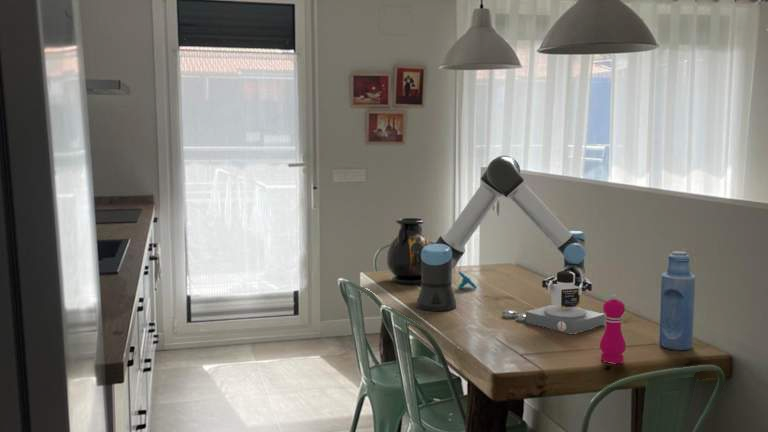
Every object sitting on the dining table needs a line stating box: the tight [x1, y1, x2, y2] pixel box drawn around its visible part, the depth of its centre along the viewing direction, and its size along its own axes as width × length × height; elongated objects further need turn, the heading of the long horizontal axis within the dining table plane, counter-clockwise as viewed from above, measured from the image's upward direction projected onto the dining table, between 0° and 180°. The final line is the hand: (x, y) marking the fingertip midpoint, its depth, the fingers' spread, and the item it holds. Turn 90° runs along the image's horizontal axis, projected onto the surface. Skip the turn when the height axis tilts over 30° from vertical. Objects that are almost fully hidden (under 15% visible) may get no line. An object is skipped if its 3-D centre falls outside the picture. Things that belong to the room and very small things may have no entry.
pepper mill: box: [599, 294, 627, 364], centre depth 206 cm, size 7×7×20 cm
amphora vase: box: [385, 217, 432, 286], centre depth 315 cm, size 22×22×28 cm
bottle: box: [658, 250, 696, 352], centre depth 219 cm, size 10×10×30 cm
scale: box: [525, 304, 606, 334], centre depth 246 cm, size 18×20×5 cm
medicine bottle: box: [550, 270, 581, 309], centre depth 245 cm, size 7×7×12 cm
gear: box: [458, 271, 478, 290], centre depth 302 cm, size 11×6×10 cm
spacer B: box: [516, 313, 526, 323], centre depth 252 cm, size 5×5×2 cm
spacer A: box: [502, 309, 518, 320], centre depth 257 cm, size 5×5×2 cm
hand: (564, 290), depth 241 cm, fingers closed on medicine bottle, 10 cm apart
